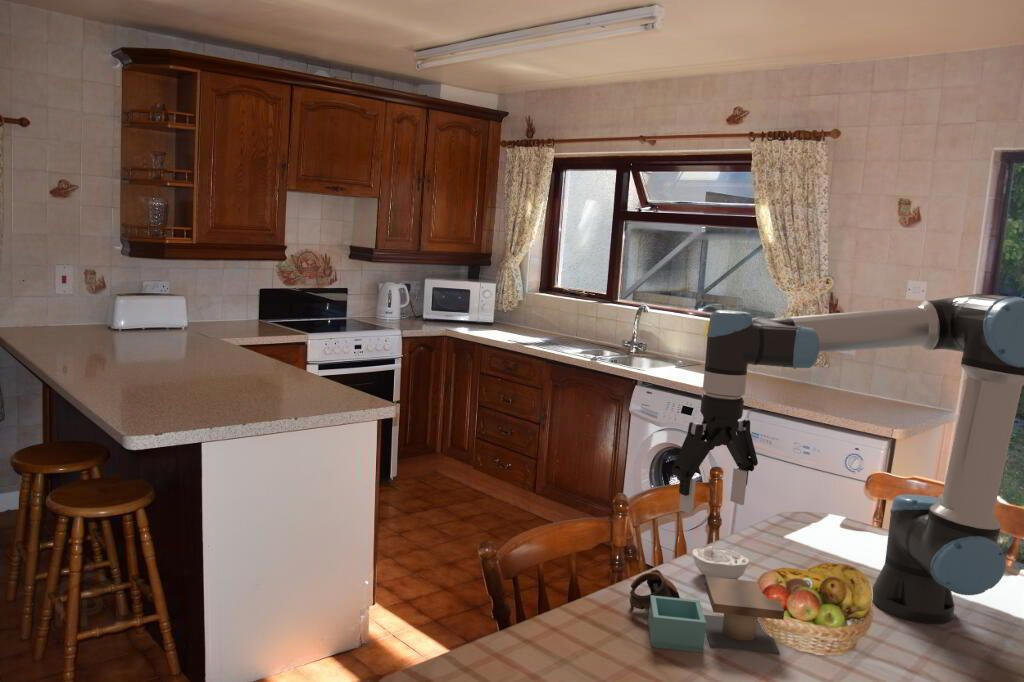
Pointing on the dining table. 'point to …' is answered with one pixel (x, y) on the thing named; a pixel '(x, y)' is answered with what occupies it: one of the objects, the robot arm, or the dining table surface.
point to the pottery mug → (652, 589)
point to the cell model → (720, 562)
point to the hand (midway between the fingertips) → (712, 507)
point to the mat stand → (738, 634)
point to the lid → (741, 598)
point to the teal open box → (676, 624)
